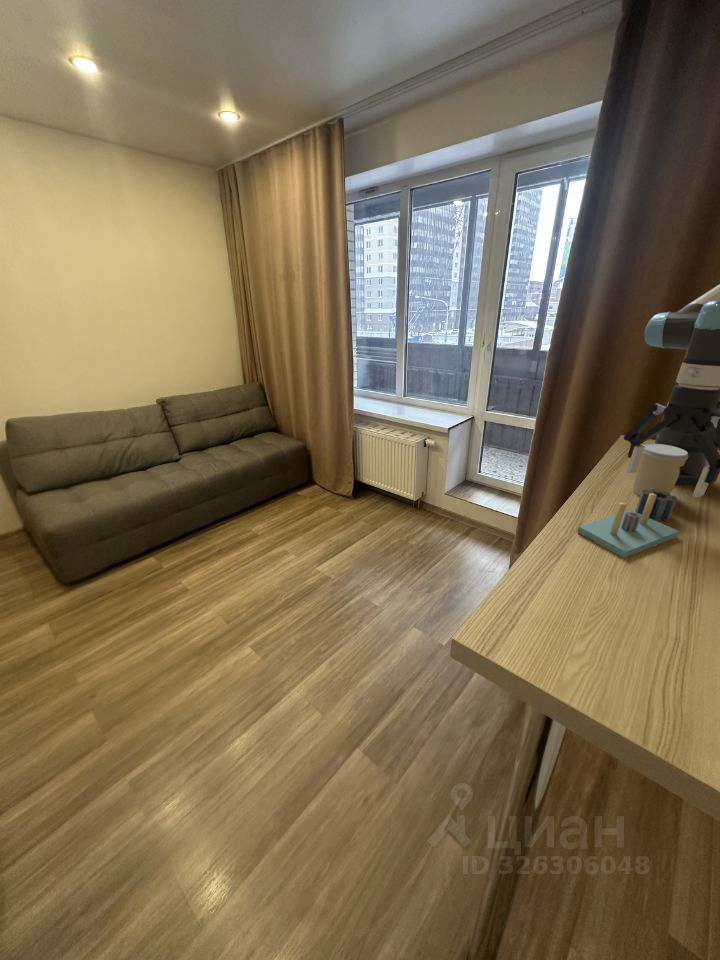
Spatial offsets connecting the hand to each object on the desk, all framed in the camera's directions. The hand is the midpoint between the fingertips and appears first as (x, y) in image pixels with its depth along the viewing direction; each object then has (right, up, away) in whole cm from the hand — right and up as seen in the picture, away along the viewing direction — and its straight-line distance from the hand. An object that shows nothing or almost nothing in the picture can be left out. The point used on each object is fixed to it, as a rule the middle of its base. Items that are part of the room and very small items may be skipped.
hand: (662, 483), depth 83 cm
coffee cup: (+8, -3, +14) cm, 16 cm away
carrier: (-11, -11, -4) cm, 16 cm away
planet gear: (+1, -7, +3) cm, 8 cm away
